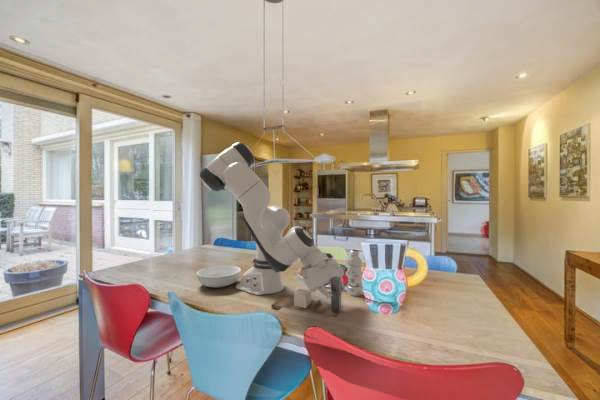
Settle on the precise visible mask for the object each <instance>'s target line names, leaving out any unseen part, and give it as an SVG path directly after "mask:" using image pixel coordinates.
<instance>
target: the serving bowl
mask: <svg viewBox="0 0 600 400" xmlns="http://www.w3.org/2000/svg"><path fill="white" fill-rule="evenodd" d="M241 273H242V269H241V268H240V267H239V266H235V265H217V266H210V267H205V268H202V269H200V270H198V271H197V272H196V277H197V278H196V279H197V281H198V282H199V283H200V284H201V285H202V286H204V287H208V288H215V289H216V288H219V289H220V288H224V287H227V286H230V285H232V284H234V283H236V282H237V281H238V280H239V278H240V276H241Z"/></svg>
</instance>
